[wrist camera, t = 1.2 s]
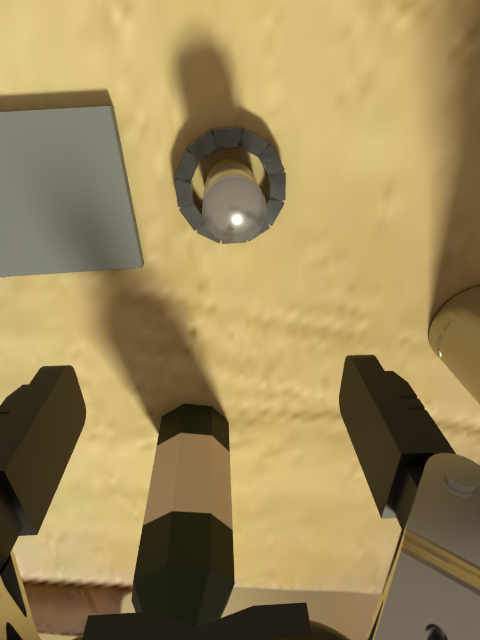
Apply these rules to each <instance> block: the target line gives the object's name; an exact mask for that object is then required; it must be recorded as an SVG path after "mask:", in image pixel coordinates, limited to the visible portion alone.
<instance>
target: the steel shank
mask: <svg viewBox="0 0 480 640" xmlns="http://www.w3.org/2000/svg"><path fill="white" fill-rule="evenodd" d="M202 215H203V220H204V223H205V225H206V227H207V229H208V230H209V231H210V232H211V233H212V234H213V235H214V236H215V237H216V238H218V239H220V240H222V241H224V242H228V243H240V242H244V241H247V240H249V239H251V238H252V237H254V236H255V235H256V234H257V233H258V232H259V231H260V230H261V228H262V227H263V225H264V223H265V220H266V216H267V204H266V200H265V197H264V195H263V193H262V191H261V189H260V187H259V185H258V183H257V182H256V180H255V178H254V176H253V174H252V172H251V170H250V169H249V168H248V167H247V166H246V165H245V164H244V163H242V162H240V161H237V160H233V159H228V160H223V161H221V162H218V163H217V164H215V165H214V166H213V167H212V168H211V170H210V171H209V173H208V175H207V178H206V183H205V190H204V197H203V205H202Z"/></svg>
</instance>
